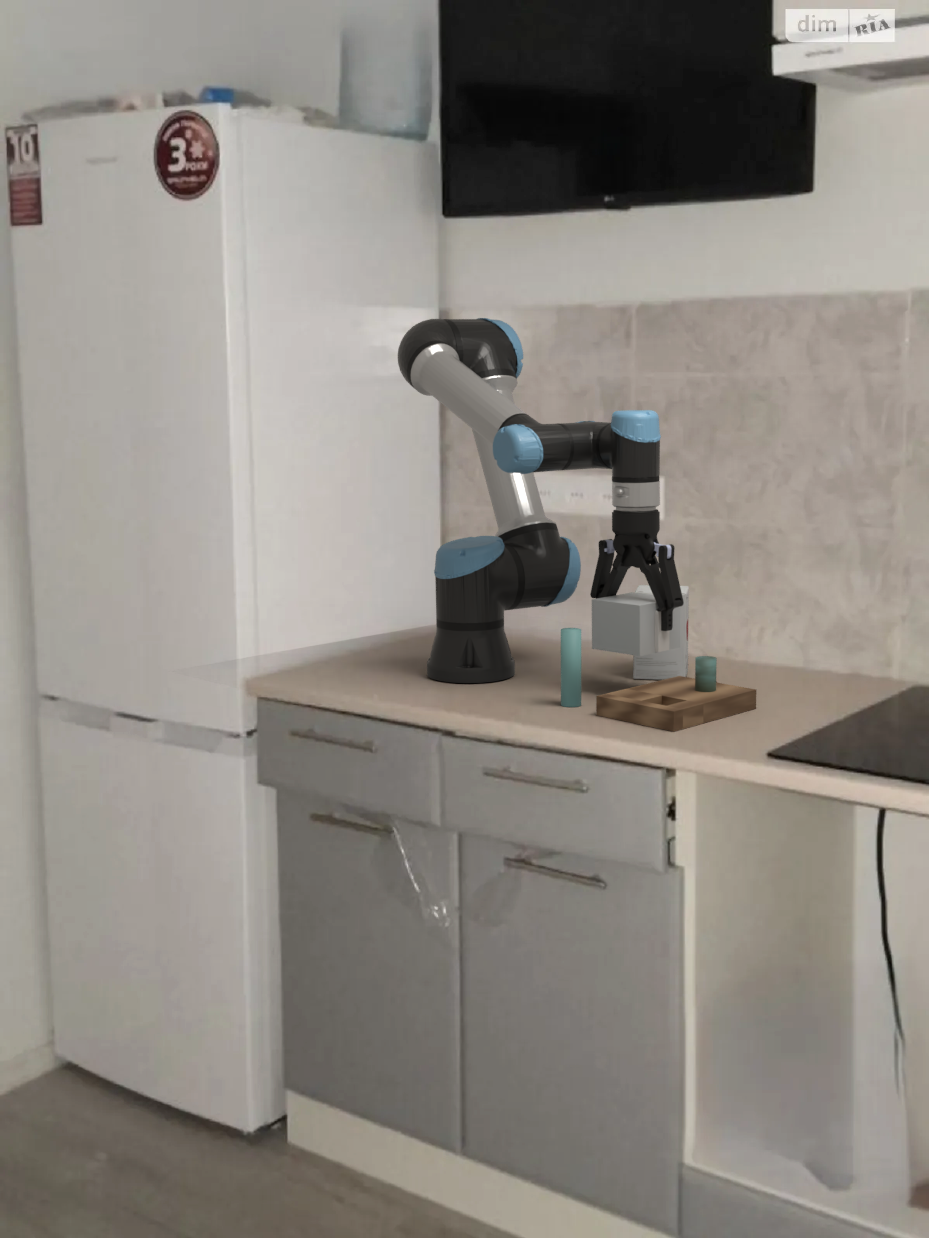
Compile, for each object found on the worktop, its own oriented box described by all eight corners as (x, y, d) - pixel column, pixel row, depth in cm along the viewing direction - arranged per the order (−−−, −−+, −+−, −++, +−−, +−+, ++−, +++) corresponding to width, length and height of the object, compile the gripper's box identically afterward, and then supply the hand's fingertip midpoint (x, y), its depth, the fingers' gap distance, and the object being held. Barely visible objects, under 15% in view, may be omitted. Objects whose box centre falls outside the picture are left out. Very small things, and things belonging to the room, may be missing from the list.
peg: (556, 704, 239) (556, 629, 237) (570, 701, 241) (570, 627, 239) (571, 708, 236) (571, 632, 234) (585, 704, 239) (585, 629, 237)
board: (596, 715, 232) (596, 663, 230) (679, 693, 245) (679, 645, 244) (673, 731, 221) (674, 677, 219) (756, 708, 234) (757, 657, 233)
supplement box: (686, 681, 254) (687, 593, 252) (632, 680, 256) (632, 592, 254) (689, 670, 263) (690, 584, 261) (637, 669, 265) (637, 584, 262)
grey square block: (591, 648, 245) (591, 599, 243) (632, 640, 251) (632, 592, 250) (639, 656, 238) (639, 605, 236) (680, 647, 244) (680, 598, 243)
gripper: (567, 506, 246) (568, 641, 250) (677, 514, 230) (676, 658, 234) (598, 503, 252) (598, 635, 255) (707, 510, 235) (706, 651, 239)
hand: (636, 646), depth 244 cm, fingers closed on grey square block, 10 cm apart
